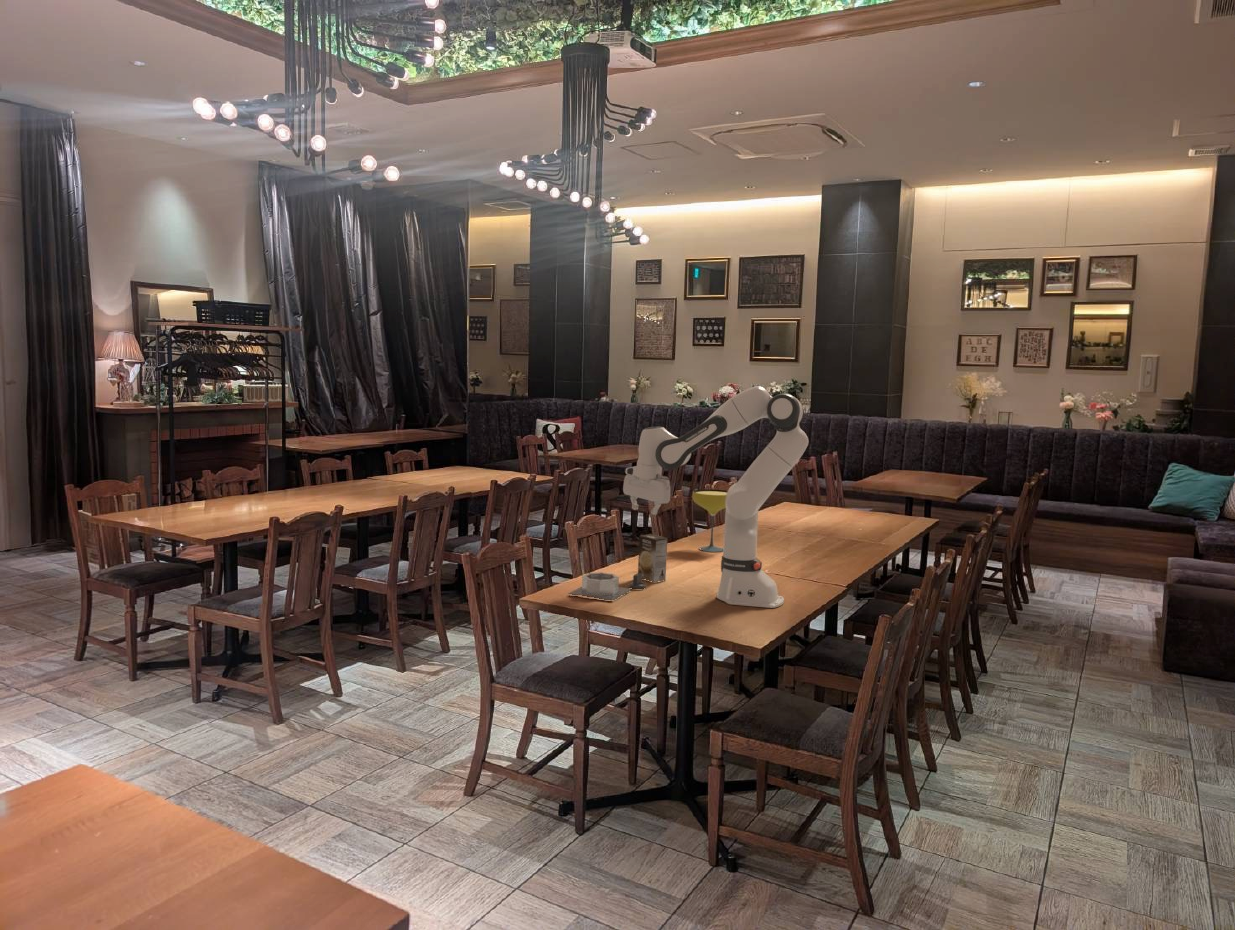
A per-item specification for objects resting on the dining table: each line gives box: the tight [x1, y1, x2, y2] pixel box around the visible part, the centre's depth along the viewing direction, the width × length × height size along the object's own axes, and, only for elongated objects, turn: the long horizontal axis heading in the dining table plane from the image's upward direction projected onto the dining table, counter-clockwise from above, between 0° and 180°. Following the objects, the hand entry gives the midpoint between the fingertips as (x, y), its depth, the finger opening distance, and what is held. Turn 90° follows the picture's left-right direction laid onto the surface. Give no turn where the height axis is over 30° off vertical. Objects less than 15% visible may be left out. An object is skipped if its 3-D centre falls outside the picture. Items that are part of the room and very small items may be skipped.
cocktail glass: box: [691, 488, 728, 553], centre depth 375 cm, size 18×18×25 cm
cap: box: [628, 572, 647, 590], centre depth 306 cm, size 6×6×5 cm
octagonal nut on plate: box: [568, 571, 632, 600], centre depth 296 cm, size 16×16×6 cm
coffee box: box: [637, 533, 668, 583], centre depth 318 cm, size 9×6×16 cm
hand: (644, 511), depth 304 cm, fingers open, 8 cm apart
